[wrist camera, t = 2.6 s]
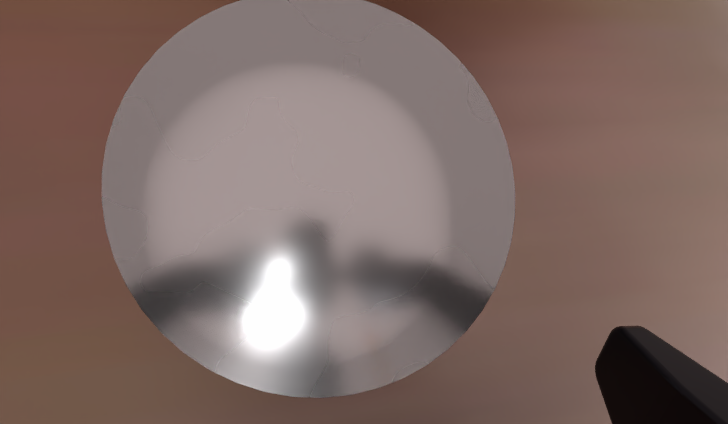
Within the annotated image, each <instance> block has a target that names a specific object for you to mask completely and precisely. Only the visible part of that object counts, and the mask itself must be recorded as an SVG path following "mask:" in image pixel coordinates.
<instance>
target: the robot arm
mask: <svg viewBox="0 0 728 424" xmlns="http://www.w3.org/2000/svg"><path fill="white" fill-rule="evenodd" d="M595 373H596V378H597V381H598V384H599V387H600V390H601V393H602V396H603V398H604V401H605V404H606V407H607V410H608V413H609V416H610V419H611V422H612V424H728V383H727V382H725V381H724V380H722V379H721V378H719V377H718V376H716V375H715V374H713V373H712V372H710V371H709V370H707V369H706V368H704V367H703V366H701V365H700V364H698V363H697V362H695V361H694V360H692V359H691V358H689V357H688V356H686V355H685V354H683V353H682V352H680V351H679V350H677V349H676V348H674V347H673V346H671V345H670V344H668V343H667V342H665V341H664V340H662V339H661V338H659V337H658V336H656V335H655V334H653V333H652V332H650V331H649V330H647V329H645V328H644V327H641V326H619V327H616V328H614V329H613V330H612V331H611V333H610V334H609V336H608V338H607V340H606V342H605V344H604V346H603V348H602V350H601V352H600V354H599V356H598V358H597V361H596V365H595Z"/></svg>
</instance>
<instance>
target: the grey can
mask: <svg viewBox="0 0 728 424" xmlns="http://www.w3.org/2000/svg"><path fill="white" fill-rule="evenodd" d="M102 205H103V213H104V220H105V227H106V232H107V235H108V239H109V242H110V246H111V249H112V253H113V256H114V259H115V261H116V263H117V266H118V268H119V270H120V272H121V274H122V277H123V279H124V281H125V283H126V285H127V287H128V289H129V290H130V292H131V293H132V295H133V296H134V298H135V300H136V301H137V303H138V304H139V306H140V307H141V309H142V311H143V312H144V313H145V314H146V315H147V316H148V318H149V319H150V320H151V321H152V322H153V323H154V325H155V326H156V327H157V328H158V329H159V331H160V332H161V333H162V334H163V335H164V336H166V337H167V338H168V339H169V340H170V341H171V342H172V343H173V344H175V345H176V346H177V347H178V348H179V349H180V350H181V351H182V352H184V353H185V354H186V355H188V356H189V357H191V358H192V359H194V360H195V361H197V362H198V363H200V364H201V365H203V366H204V367H206V368H207V369H209V370H211V371H213V372H215V373H217V374H219V375H221V376H223V377H225V378H227V379H230V380H232V381H234V382H236V383H239V384H242V385H245V386H248V387H251V388H254V389H257V390H260V391H264V392H269V393H274V394H280V395H286V396H291V397H313V398H325V397H335V396H345V395H352V394H356V393H361V392H365V391H369V390H373V389H377V388H380V387H382V386H385V385H388V384H390V383H393V382H395V381H398V380H400V379H403V378H405V377H406V376H408V375H410V374H412V373H414V372H415V371H417V370H419V369H421V368H423V367H424V366H426V365H428V364H429V363H430V362H432V361H433V360H434V359H436V358H437V357H438V356H440V355H441V354H442V353H444V352H445V351H446V350H448V349H449V348H450V347H451V346H452V345H453V344H454V343H455V342H456V341H457V340H458V339H459V338H460V337H461V336H462V335H463V334H464V333H465V332H466V331H467V330H468V328H469V327H470V326H471V324H472V323H473V322H474V321H475V319H476V318H477V317H478V315H479V314H480V313H481V311H482V310H483V308H484V307H485V305H486V303H487V301H488V300H489V298H490V296H491V295H492V293H493V291H494V289H495V287H496V285H497V283H498V280H499V278H500V275H501V273H502V271H503V268H504V266H505V263H506V259H507V255H508V252H509V248H510V244H511V240H512V233H513V226H514V219H515V185H514V176H513V167H512V163H511V158H510V154H509V150H508V146H507V142H506V139H505V136H504V134H503V131H502V128H501V125H500V123H499V120H498V118H497V116H496V114H495V112H494V110H493V108H492V106H491V104H490V102H489V100H488V98H487V96H486V95H485V93H484V92H483V90H482V89H481V87H480V86H479V84H478V83H477V81H476V80H475V78H474V77H473V76H472V75H471V73H470V72H469V71H468V70H467V69H466V67H465V66H464V65H463V64H462V63H461V62H460V60H459V59H458V58H457V57H456V56H455V55H454V54H453V53H452V52H451V51H449V50H448V49H447V48H446V47H445V46H444V45H443V44H442V43H441V42H440V41H439V40H437V39H436V38H435V37H433V36H432V35H431V34H429V33H428V32H427V31H425V30H424V29H422V28H421V27H420V26H418V25H417V24H415V23H413V22H411V21H410V20H408V19H406V18H404V17H403V16H401V15H399V14H397V13H395V12H393V11H390V10H388V9H386V8H383V7H381V6H379V5H376V4H374V3H371V2H367V1H364V0H240V1H237V2H234V3H231V4H228V5H225V6H223V7H221V8H218V9H216V10H214V11H212V12H210V13H208V14H206V15H204V16H202V17H200V18H199V19H197V20H195V21H194V22H192V23H191V24H189V25H188V26H186V27H185V28H183V29H182V30H180V31H179V32H178V33H176V34H175V35H174V36H173V37H172V38H171V39H170V40H168V41H167V42H166V43H165V44H164V45H163V46H162V47H160V48H159V49H158V50H157V51H156V53H155V54H154V55H153V56H152V57H151V58H150V60H149V61H148V62H147V63H146V64H145V65H144V66H143V68H142V69H141V70H140V71H139V73H138V75H137V76H136V78H135V79H134V81H133V82H132V84H131V85H130V87H129V88H128V90H127V92H126V93H125V95H124V98H123V100H122V102H121V104H120V106H119V108H118V111H117V113H116V115H115V117H114V120H113V123H112V127H111V130H110V133H109V137H108V140H107V143H106V149H105V156H104V162H103V169H102Z"/></svg>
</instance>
